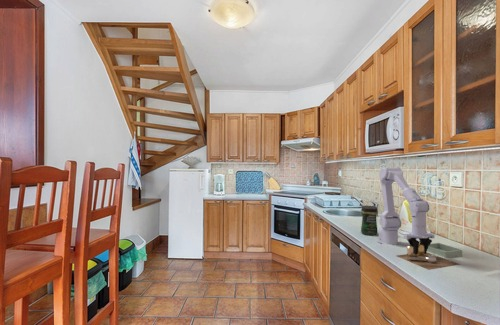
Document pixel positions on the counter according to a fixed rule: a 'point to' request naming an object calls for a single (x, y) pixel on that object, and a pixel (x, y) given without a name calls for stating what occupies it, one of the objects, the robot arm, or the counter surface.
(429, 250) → the tray
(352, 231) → the counter surface
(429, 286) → the counter surface
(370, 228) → the coffee jar
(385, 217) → the robot arm
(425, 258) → the crank
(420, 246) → the pin
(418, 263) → the crank base
